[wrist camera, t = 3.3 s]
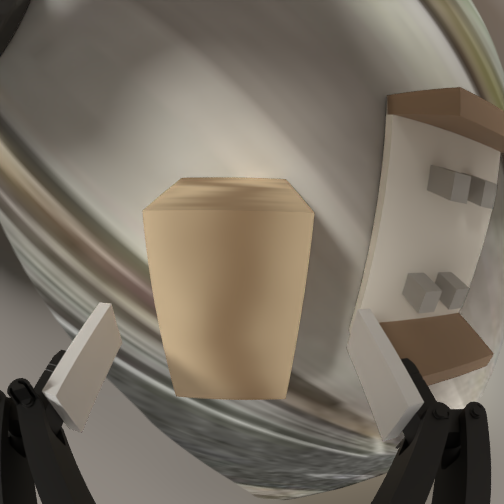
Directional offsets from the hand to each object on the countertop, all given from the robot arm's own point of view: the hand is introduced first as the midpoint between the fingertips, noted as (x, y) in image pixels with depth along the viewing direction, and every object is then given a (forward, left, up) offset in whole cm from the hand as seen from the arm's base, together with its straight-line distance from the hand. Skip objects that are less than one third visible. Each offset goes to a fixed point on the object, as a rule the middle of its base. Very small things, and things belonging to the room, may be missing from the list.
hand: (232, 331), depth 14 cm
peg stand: (+17, +3, -7) cm, 19 cm away
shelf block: (0, 0, -8) cm, 8 cm away
